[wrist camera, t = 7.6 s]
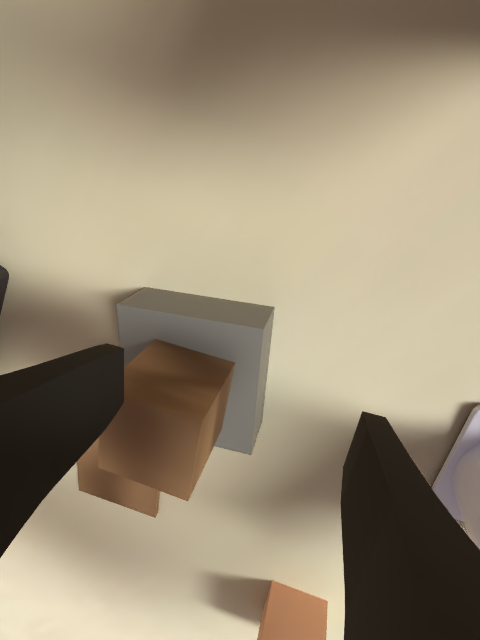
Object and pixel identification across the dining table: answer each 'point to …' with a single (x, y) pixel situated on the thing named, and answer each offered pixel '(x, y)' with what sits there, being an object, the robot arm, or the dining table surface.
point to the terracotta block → (292, 615)
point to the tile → (114, 485)
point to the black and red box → (3, 284)
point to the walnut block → (167, 418)
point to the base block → (208, 347)
